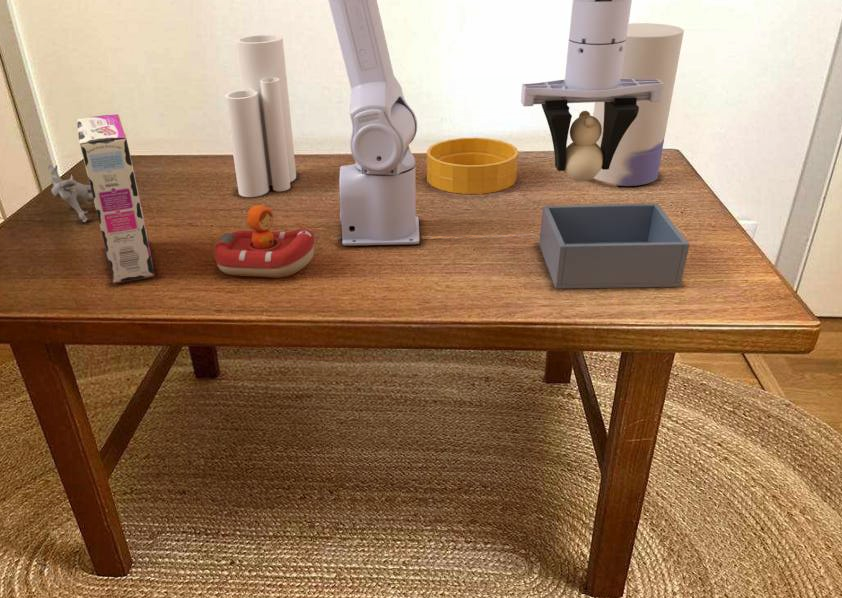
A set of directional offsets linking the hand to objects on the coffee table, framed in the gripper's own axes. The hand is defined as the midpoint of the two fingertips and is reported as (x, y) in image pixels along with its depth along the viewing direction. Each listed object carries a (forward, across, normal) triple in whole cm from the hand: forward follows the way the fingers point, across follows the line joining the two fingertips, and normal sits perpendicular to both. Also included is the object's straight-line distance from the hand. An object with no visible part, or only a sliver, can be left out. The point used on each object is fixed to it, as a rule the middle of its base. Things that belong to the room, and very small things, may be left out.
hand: (581, 167), depth 82 cm
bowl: (+9, +10, -22) cm, 26 cm away
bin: (+10, -2, +6) cm, 11 cm away
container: (+10, -12, -23) cm, 28 cm away
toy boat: (+10, +36, +4) cm, 38 cm away
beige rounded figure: (+2, 0, 0) cm, 2 cm away
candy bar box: (+10, +54, +2) cm, 54 cm away
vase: (+10, +40, -24) cm, 48 cm away
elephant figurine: (+10, +66, -15) cm, 69 cm away
